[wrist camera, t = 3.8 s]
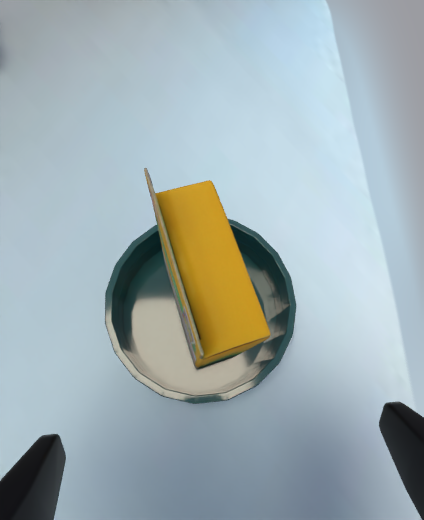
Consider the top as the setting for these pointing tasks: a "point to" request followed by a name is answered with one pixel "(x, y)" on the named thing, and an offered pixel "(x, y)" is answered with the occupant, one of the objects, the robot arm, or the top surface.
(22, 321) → the top surface
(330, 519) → the top surface
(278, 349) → the tin
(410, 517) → the top surface
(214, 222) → the crayon box
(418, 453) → the robot arm
